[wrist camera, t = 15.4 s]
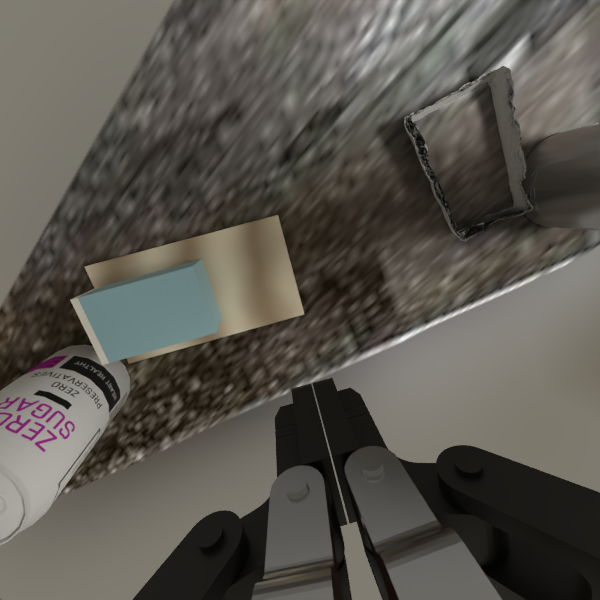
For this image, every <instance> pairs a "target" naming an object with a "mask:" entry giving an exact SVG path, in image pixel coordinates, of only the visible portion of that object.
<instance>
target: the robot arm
mask: <svg viewBox="0 0 600 600" xmlns="http://www.w3.org/2000/svg"><path fill="white" fill-rule="evenodd" d="M526 164H527V171H526V178H525V179H523V181H522V183H521V184H522V187H523V190H524V192H525V193H527V194H528V195H529V198H528V200H529V202H531V205H532V206H533V209H532V210H531V211H529V212H526V213H525V215H526V217H527V218H528V219H530V220H531V221H532V222H533V223H536V224H538V225H540V226H545V227H558V228H576V229H591V230H600V123H596V124H592V125H589V126H585V127H581V128H577V129H574V130H570V131H566V132H562V133H559V134H555V135H553V136H551V137H549V138H547V139H545V140H544V141H542V142H541V143H540V144H538V145H537V146H536V147H535V149H534V150H533V151H532V152H531V153H530V154H529V156H528V158H527V159H526ZM313 386H314V390H315V394H316V398H317V401H318V405H319V409H320V413H321V416H322V420H323V424H324V428H325V432H326V436H327V439H328V443H329V447H330V451H331V454H332V458H333V462H334V466H335V469H336V473H337V477H338V481H339V484H340V488H341V492H342V496H343V500H344V503H345V508H346V511H347V515H348V519H349V523H353V522H356V521H357V524H358V527H359V531H360V534H361V538H362V541H363V546H364V550H365V553H366V556H367V559H368V562H369V564H370V567H371V570H372V573H373V575H374V578H375V581H376V584H377V586H378V589H379V592H380V594H381V597H382V600H600V493H599V492H597V491H594V490H591V489H589V488H586V487H583V486H580V485H577V484H575V483H572V482H569V481H566V480H564V479H561V478H559V477H556V476H553V475H550V474H548V473H545V472H542V471H539V470H537V469H534V468H531V467H529V466H526V465H523V464H520V463H518V462H514V461H512V460H510V459H507V458H504V457H502V456H499V455H496V454H493V453H491V452H488V451H485V450H482V449H480V448H476V447H473V446H466V445H461V446H453V447H450V448H447V449H445V450H444V451H443V452H441V454H440V455H439V456H438V458H437V462H436V463H413V462H408V461H405V460H402V459H400V458H398V457H396V455H395V454H394V453H392V452H391V451H390V450H388V448H387V447H386V445H385V443H384V441H383V439H382V437H381V435H380V433H379V431H378V429H377V427H376V425H375V423H374V421H373V419H372V417H371V415H370V413H369V411H368V409H367V407H366V406H365V403H364V401H363V399H362V397H361V395H360V394H359V393H357V392H356V391H354V390H353V389H351V388H348V389H344V390H340V391H337V389H336V387H335V384H334V382H333V379H332V378H330V379H326V380H322V381H319V382H315V383H313ZM292 397H293V404H290V405H286V406H282V407H280V409H279V411H278V413H277V415H276V417H275V429H276V432H275V433H276V458H277V479H276V480H275V481H274V483H273V485H272V488H271V491H270V497H269V498H268V499H267V501H266V502H265V503H264V504H262V505H261V506H260V507H258V508H257V509H256V510H254V511H252V512H251V513H249V514H247V515H246V516H244V517H242V518H241V519H239V517H238V516H237V515H236V514H235V513H233V512H231V511H218V512H214V513H212V514H210V515H208V516H206V517H205V518H203V519H202V520H200V521H199V522H198V523H197V524H196V525H195V526H194V527H193V528H192V530H191V531H190V532H189V533H188V534H187V535H186V537H185V538H184V539H183V540H182V541H181V543H180V544H179V545H178V546H177V548H176V549H175V550H174V551H173V552H172V553H171V555H170V556H169V557H168V558H167V559H166V560H165V562H164V563H163V564H162V565H161V566H160V568H159V569H158V570H157V571H156V573H155V574H154V575H153V576H152V577H151V578H150V580H149V581H148V582H147V583H146V584H145V585H144V587H143V588H142V589H141V590H140V591H139V593H138V594H137V595H136V596H135V597H134V599H133V600H352V596H351V591H350V583H349V577H348V570H347V564H346V558H345V554H344V548H345V547H344V541H343V536H342V532H341V528H340V526H343V525H347V521H346V517H345V513H344V509H343V505H342V501H341V498H340V494H339V490H338V486H337V482H336V478H335V474H334V471H333V466H332V463H331V458H330V454H329V451H328V447H327V443H326V439H325V435H324V431H323V427H322V423H321V420H320V416H319V412H318V408H317V405H316V401H315V397H314V393H313V389H312V386H311V384H308V385H304V386H300V387H297V388H293V389H292Z"/></svg>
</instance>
